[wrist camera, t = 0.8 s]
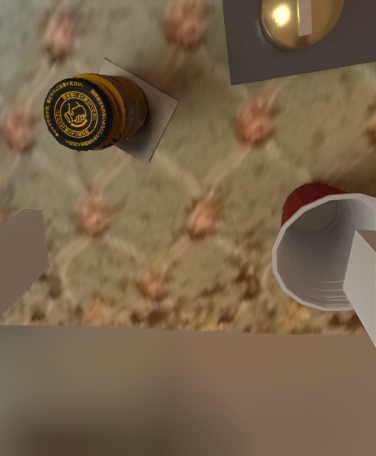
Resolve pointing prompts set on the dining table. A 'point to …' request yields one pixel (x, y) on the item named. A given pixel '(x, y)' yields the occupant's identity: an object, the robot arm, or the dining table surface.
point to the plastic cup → (319, 243)
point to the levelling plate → (302, 58)
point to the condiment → (108, 112)
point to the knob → (298, 21)
